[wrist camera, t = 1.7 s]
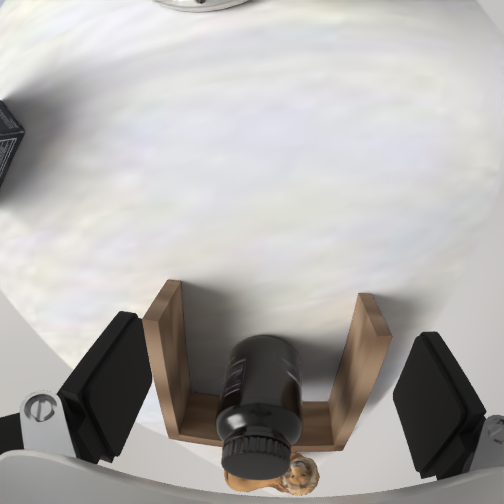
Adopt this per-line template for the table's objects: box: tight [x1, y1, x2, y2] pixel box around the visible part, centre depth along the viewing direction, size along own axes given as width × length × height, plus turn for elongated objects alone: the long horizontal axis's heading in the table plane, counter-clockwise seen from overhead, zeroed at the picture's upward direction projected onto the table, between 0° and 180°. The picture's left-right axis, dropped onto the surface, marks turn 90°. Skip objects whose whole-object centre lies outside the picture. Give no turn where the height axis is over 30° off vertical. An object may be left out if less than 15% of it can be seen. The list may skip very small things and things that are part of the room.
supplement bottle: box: [215, 336, 303, 481], centre depth 23 cm, size 7×7×12 cm
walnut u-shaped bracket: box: [142, 280, 392, 452], centre depth 26 cm, size 15×17×6 cm
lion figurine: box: [222, 451, 320, 495], centre depth 30 cm, size 15×5×9 cm, turn 129°
